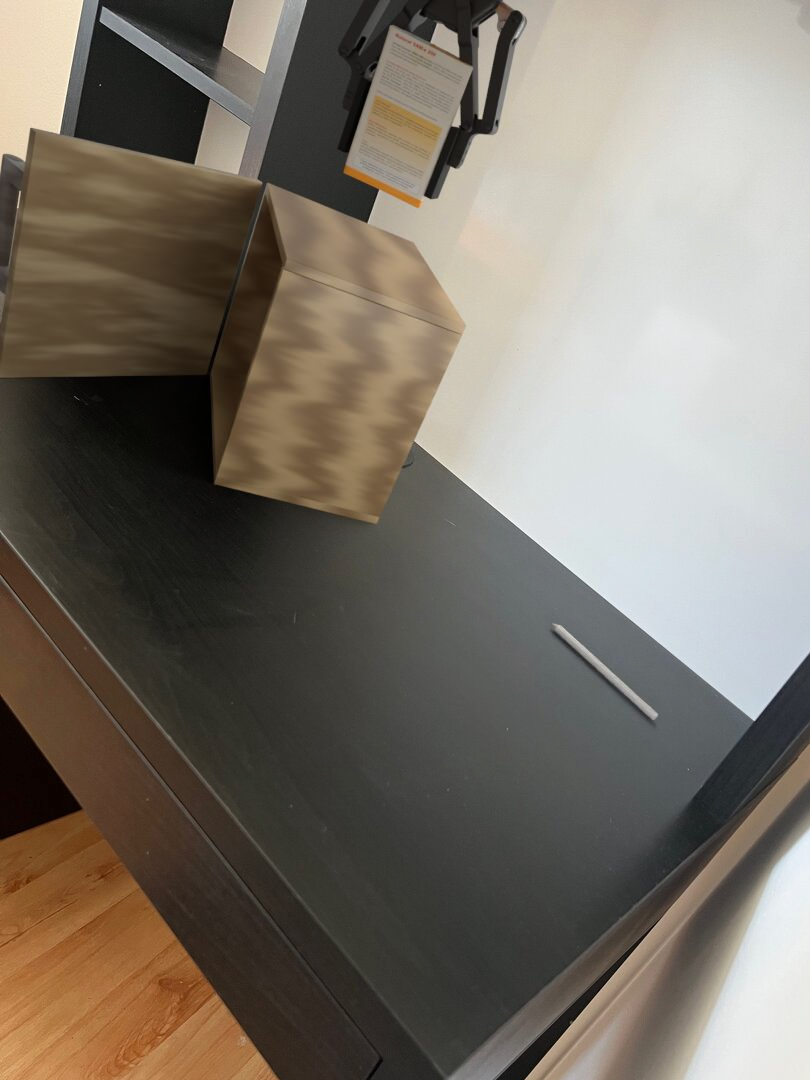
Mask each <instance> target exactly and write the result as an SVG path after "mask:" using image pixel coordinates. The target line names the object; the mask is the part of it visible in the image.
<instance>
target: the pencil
mask: <svg viewBox="0 0 810 1080" xmlns="http://www.w3.org/2000/svg"><path fill="white" fill-rule="evenodd" d="M552 625H553V629H554V631H555V632H556V633H557V634H558V635H559V636H560V637H561V638H562V639H563V640H564V641H565V642H567V643H568V644H569V645H570V646H571V647H572V648H573V649H574V650H575V651H577V652H578V653H579V655H581V656H582V657H583V658H584V659H585V660H586V661H587V662H588V663H590V665H592V666H593V667H594V668H595V669H596V670H597V671H598V672H599V673H601V675H602V676H604V677H605V678H606V680H608V681H609V682H610V683H611V684H612V685H614V686H615V687H616V688H617V689H618V690H619V691H620V692H621V693H622V694H624V695H625V696H626V698H628V700H630V701H631V702H632V703H634V705H635V706H637V708H638V709H640V710H641V711H642V712H643V713H644V714H645V715H646V716H647V717H649V719H651V720H652V721H655V720H656V719H657V718H658V716H659V713H658V712H656V710H655V709H654V708H653V707H651V706H650V704H648V703H646V702H645V701H644V700H643V699H642V698H641V697H640V696H639V695H638V694H637V693H636V692H634V691H633V690H632V689H631V688H630V686H628V685H627V684H626V683H624V682H623V681H622V680H621V679H620V678H619V677H618V676H617V675H616V674H615V673H613V671H612V670H611V669H609V668H608V667H607V666H606V665H605V664H603V662H602V661H601V660H600V659H598V658H597V657H596V656H595V655H594V654H593V653H592V652H590V651H589V649H587V648H586V647H585V646H584V645H583V644H582V643H580V641H578V639H576V638H575V637H574V636H573V635H572V634H571V633H570V632H568V631H567V630H566V629H565V628H564V627H563V626H562V625H561V624H556V623H553V622H552Z"/></svg>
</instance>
